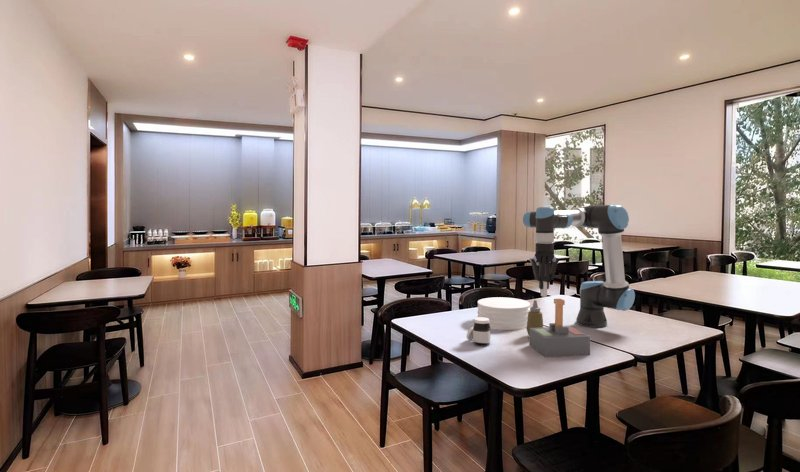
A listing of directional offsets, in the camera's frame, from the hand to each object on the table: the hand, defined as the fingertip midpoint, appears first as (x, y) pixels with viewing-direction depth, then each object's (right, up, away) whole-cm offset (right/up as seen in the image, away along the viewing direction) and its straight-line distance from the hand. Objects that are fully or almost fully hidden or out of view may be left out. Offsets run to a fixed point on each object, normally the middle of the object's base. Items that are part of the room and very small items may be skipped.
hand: (543, 296), depth 185 cm
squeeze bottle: (+3, -23, +22) cm, 32 cm away
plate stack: (-6, -22, +48) cm, 53 cm away
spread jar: (-26, -24, +14) cm, 38 cm away
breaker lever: (+7, -16, +2) cm, 17 cm away
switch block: (+7, -24, +2) cm, 25 cm away
